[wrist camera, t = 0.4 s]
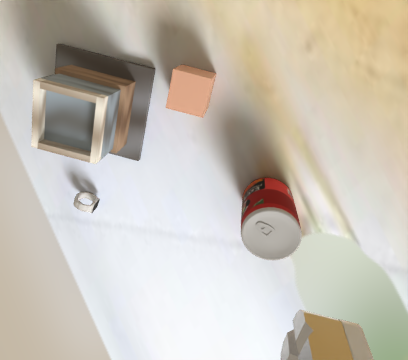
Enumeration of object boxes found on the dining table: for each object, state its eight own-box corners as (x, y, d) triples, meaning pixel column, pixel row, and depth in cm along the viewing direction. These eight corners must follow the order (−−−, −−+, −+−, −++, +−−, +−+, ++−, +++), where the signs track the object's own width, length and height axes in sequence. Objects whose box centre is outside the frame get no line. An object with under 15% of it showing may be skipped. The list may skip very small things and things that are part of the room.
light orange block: (181, 64, 50) (173, 69, 44) (216, 73, 49) (212, 79, 44) (174, 99, 52) (165, 107, 46) (207, 107, 52) (202, 117, 46)
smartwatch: (79, 196, 60) (68, 207, 56) (82, 186, 59) (71, 197, 56) (98, 205, 60) (89, 217, 57) (102, 195, 59) (93, 206, 56)
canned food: (255, 168, 54) (256, 200, 44) (302, 188, 55) (313, 225, 45) (234, 207, 57) (230, 246, 47) (279, 227, 58) (285, 269, 48)
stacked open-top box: (60, 43, 50) (10, 48, 40) (155, 68, 50) (130, 80, 40) (54, 136, 56) (9, 161, 46) (140, 158, 56) (114, 189, 45)
